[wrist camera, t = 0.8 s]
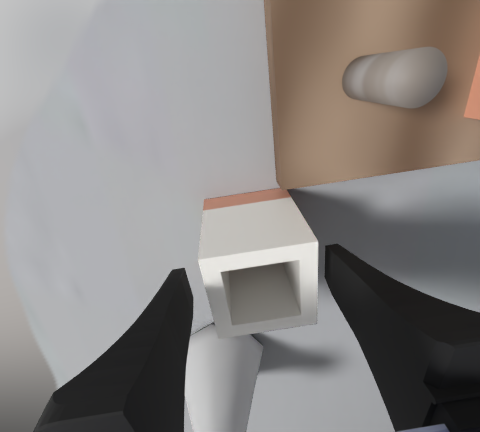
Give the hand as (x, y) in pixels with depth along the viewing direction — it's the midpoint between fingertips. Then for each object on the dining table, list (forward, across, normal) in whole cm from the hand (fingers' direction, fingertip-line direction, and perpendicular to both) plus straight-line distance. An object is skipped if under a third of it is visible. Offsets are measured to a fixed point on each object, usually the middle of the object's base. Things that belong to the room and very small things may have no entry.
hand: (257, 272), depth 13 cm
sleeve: (+4, 0, 0) cm, 4 cm away
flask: (+5, +4, +12) cm, 13 cm away
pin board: (+4, -10, -8) cm, 14 cm away
